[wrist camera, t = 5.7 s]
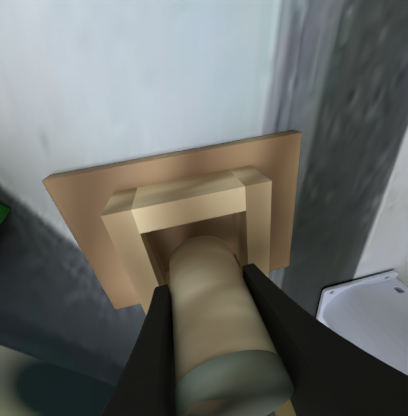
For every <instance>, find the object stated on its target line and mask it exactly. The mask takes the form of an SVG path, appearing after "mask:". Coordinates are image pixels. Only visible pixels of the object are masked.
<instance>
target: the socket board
mask: <svg viewBox="0 0 408 416" xmlns="http://www.w3.org/2000/svg"><path fill="white" fill-rule="evenodd" d="M301 135H302V132H298V131H287V132H282V133H276V134H271V135H266V136H260V137H255V138H249V139H244V140H238V141H233V142H227V143H222V144H217V145H211V146H206V147H200V148H195V149H189V150H184V151H178V152H173V153H168V154H162V155H157V156H151V157H146V158H140V159H135V160H130V161H124V162H119V163H113V164H108V165H102V166H97V167H91V168H86V169H81V170H75V171H70V172H64V173H59V174H53V175H50V176H48V177H47V178H45V179H44V180H42V182H43V184H44V186H45V187H46V189H47V191H48V193H49V194H50V196H51V198H52V199H53V201H54V203H55V205H56V206H57V208H58V210H59V212H60V213H61V215H62V217H63V219H64V220H65V222H66V224H67V226H68V227H69V229H70V231H71V233H72V234H73V236H74V238H75V240H76V241H77V243H78V245H79V247H80V248H81V250H82V252H83V254H84V255H85V257H86V259H87V261H88V262H89V264H90V266H91V268H92V269H93V271H94V273H95V275H96V276H97V278H98V280H99V282H100V283H101V285H102V287H103V289H104V290H105V292H106V294H107V295H108V297H109V299H110V301H111V302H112V304H113V306H114V308H115V309H119V308H123V307H127V306H131V305H135V304H139V303H141V305H142V307H143V309H144V311H145V313H146V315H147V312H148V309H149V306H150V303H151V300H152V296H153V292H154V289H155V287H158V286H162V285H166V284H168V287H169V290H170V293H171V285H170V267H169V261H170V257H171V254H172V253H173V251H174V250H175V249H176V247H177V246H179V245H180V244H181V243H183V242H184V241H186V240H188V239H190V238H193V237H197V236H205V235H208V236H215V237H218V238H220V239H222V240H224V241H225V242H226V243H227V244H228V245H229V247H230V249H231V251H232V253H233V255H234V257H235V260H236V262H237V264H238V266H239V269H240V271H241V273H242V275H243V268H242V266H243V265H248V264H252V263H254V264H255V265H256V266H257V267H258V268H259V269H260V270H261V271H262V272H263V273H264V274H265V275H266V276H267V277H268V278H269V271H272V270H276V269H280V268H284V267H288V266H289V259H290V248H291V238H292V228H293V218H294V207H295V197H296V187H297V176H298V166H299V156H300V145H301Z"/></svg>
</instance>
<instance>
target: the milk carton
mask: <svg viewBox="0 0 408 416" xmlns="http://www.w3.org/2000/svg"><path fill="white" fill-rule="evenodd" d="M10 210H11V209H10V208H7V207H5V206H3V205H1V204H0V224H1V223H2V221H3V220H4V219H5V217H6V216H7V214H8V213H9V212H10Z"/></svg>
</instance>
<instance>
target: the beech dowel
mask: <svg viewBox="0 0 408 416" xmlns="http://www.w3.org/2000/svg"><path fill="white" fill-rule="evenodd" d="M169 267H170V285H171V303H172V321H173V339H174V357H175V374H176V389H175V401H176V416H266V415H268V414H270V413H271V412H273V411H275V410H276V409H278V408H279V407H281V406H282V405H283V404H285V403H286V402H287V401H288V400H289V399H290V398H291V396H292V395H293V393H294V385H293V383H292V381H291V379H290V377H289V374H288V372H287V370H286V368H285V366H284V363H283V361H282V359H281V357H280V356H279V355H278V353H277V351H276V349H275V347H274V344H273V342H272V340H271V338H270V335H269V333H268V331H267V329H266V327H265V324H264V322H263V320H262V318H261V315H260V313H259V311H258V309H257V307H256V304H255V302H254V300H253V298H252V295H251V293H250V291H249V289H248V286H247V284H246V282H245V280H244V278H243V275H242V273H241V271H240V269H239V266H238V264H237V262H236V260H235V257H234V255H233V253H232V251H231V249H230V247H229V245H228V244H227V243H226V242H225V241H224V240H222V239H220V238H218V237H215V236H208V235H205V236H197V237H193V238H190V239H188V240H186V241H184V242H183V243H181V244H180V245H179V246H177V247H176V249H175V250H174V251H173V253H172V254H171V257H170V261H169Z"/></svg>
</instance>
